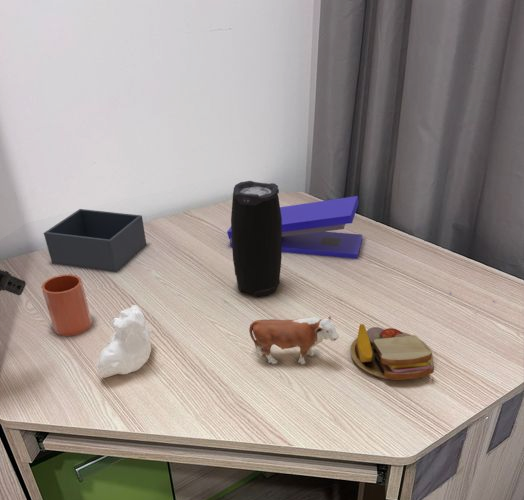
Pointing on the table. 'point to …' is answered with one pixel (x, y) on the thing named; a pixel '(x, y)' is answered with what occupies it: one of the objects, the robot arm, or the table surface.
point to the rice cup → (67, 304)
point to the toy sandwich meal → (391, 354)
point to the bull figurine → (291, 335)
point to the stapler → (319, 228)
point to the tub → (96, 240)
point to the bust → (126, 344)
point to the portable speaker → (256, 237)
